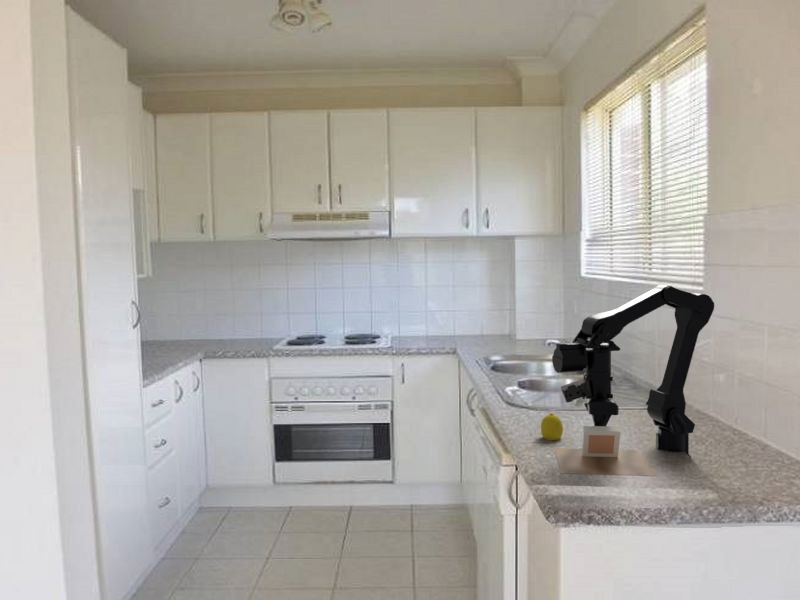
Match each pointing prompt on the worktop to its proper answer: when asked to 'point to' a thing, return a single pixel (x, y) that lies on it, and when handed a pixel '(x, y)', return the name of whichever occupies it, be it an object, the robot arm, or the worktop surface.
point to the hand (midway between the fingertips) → (598, 435)
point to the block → (600, 441)
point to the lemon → (551, 427)
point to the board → (603, 463)
